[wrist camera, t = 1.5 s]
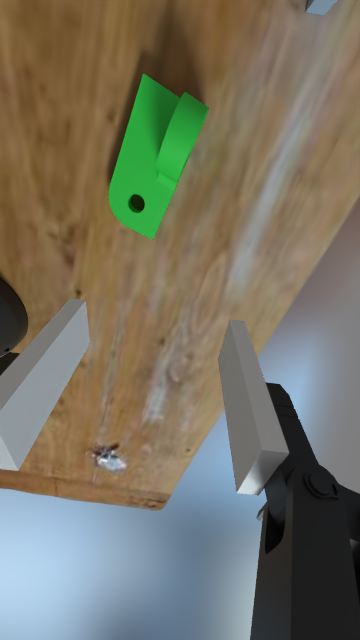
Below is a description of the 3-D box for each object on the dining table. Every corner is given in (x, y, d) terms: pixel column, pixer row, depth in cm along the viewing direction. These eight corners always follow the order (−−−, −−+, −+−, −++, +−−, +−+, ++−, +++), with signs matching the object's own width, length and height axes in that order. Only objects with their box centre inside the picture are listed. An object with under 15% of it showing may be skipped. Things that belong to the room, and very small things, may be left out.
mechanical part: (147, 80, 21) (127, 41, 15) (205, 119, 23) (211, 100, 16) (107, 210, 27) (79, 225, 21) (154, 235, 29) (143, 256, 22)
